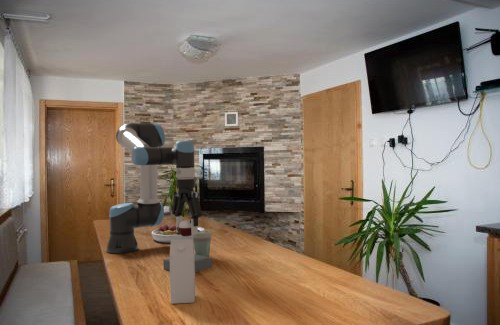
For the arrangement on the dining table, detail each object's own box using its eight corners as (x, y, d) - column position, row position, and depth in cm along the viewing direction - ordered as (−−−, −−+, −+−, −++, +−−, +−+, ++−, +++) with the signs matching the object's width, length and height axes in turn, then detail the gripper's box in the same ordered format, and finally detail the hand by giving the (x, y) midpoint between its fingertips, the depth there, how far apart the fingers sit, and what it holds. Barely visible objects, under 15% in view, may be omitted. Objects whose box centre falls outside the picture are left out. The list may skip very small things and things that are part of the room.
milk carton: (173, 296, 125) (171, 238, 125) (195, 295, 126) (193, 237, 126) (170, 304, 118) (169, 242, 118) (194, 303, 119) (192, 241, 119)
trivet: (163, 269, 158) (163, 258, 158) (190, 262, 168) (190, 252, 168) (184, 275, 149) (184, 264, 149) (211, 267, 159) (211, 257, 159)
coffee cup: (208, 261, 169) (208, 234, 169) (190, 261, 170) (189, 233, 170) (214, 256, 177) (213, 230, 177) (196, 256, 179) (196, 230, 179)
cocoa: (175, 236, 160) (172, 207, 160) (187, 233, 164) (185, 205, 164) (188, 238, 153) (185, 208, 153) (200, 235, 157) (198, 205, 157)
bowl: (215, 236, 227) (214, 223, 228) (180, 246, 202) (179, 231, 202) (177, 232, 244) (177, 220, 244) (140, 241, 218) (140, 227, 218)
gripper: (162, 178, 163) (163, 231, 163) (195, 179, 148) (197, 237, 148) (176, 177, 169) (178, 229, 169) (210, 178, 154) (211, 234, 154)
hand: (187, 233), depth 158 cm, fingers closed on cocoa, 9 cm apart
